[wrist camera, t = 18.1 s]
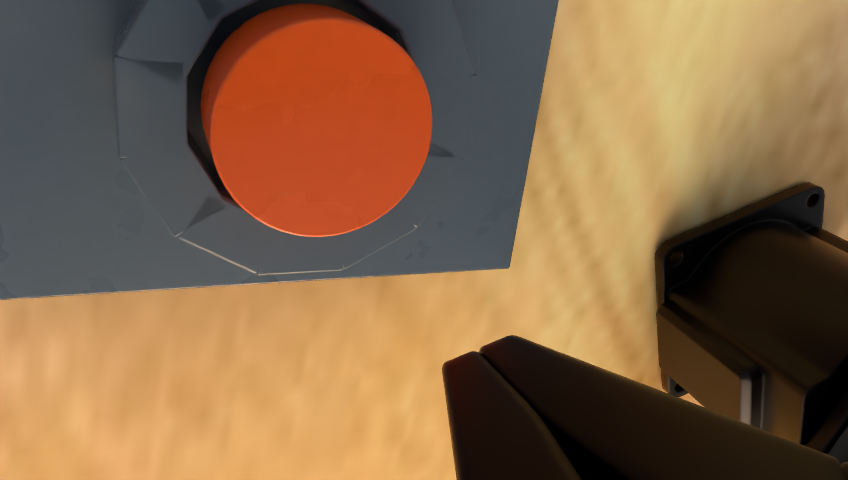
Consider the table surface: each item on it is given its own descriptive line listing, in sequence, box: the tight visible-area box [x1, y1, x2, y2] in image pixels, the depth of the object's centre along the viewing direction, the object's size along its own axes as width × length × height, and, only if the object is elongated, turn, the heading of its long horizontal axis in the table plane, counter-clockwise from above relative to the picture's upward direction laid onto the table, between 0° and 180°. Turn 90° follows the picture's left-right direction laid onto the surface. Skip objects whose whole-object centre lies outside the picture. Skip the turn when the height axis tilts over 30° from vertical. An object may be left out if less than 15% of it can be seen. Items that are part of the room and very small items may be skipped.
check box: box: [0, 0, 558, 300], centre depth 15 cm, size 12×9×4 cm
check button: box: [201, 3, 432, 237], centre depth 13 cm, size 4×4×2 cm
